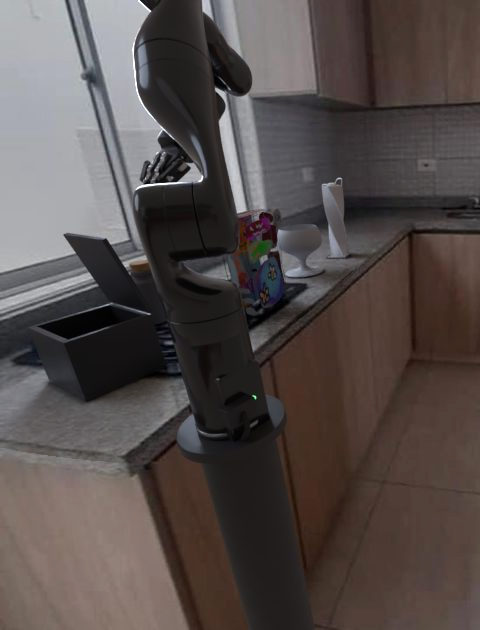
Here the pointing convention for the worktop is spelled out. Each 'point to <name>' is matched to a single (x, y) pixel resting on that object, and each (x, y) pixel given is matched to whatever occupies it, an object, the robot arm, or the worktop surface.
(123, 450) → the worktop surface
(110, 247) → the dark grey box lid
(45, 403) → the worktop surface
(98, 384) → the dark grey lidded box
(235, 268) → the box
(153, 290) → the bottle
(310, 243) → the chalice
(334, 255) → the skyscraper
